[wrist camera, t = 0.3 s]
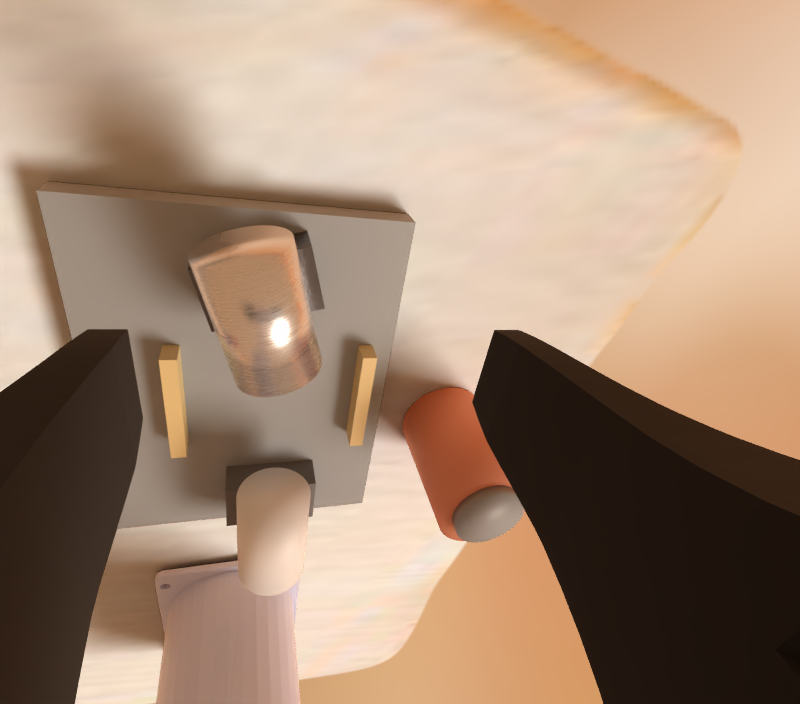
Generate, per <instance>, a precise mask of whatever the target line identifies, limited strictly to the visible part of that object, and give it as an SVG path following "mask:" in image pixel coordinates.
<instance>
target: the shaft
mask: <svg viewBox="0 0 800 704" xmlns="http://www.w3.org/2000/svg"><path fill="white" fill-rule="evenodd" d="M187 258H188V261H189V266H188V272H189V275H190V278H191V280H192V283H193V285H194V288H195V290H196V293H197V296H198V298H199V301H200V303H201V306H202V308H203V311H204V314H205V316H206V319H207V321H208V324H209V326H210V329H211V332H216V335H217V337H218V340H219V342H220V345H221V348H222V350H223V353H224V355H225V358H226V361H227V363H228V366H229V368H230V371H231V374H232V376H233V379H234V382H235V384H236V386H237V388H238V389H239V390H241V391H242V392H243V393H245V394H248V395H251V396H255V397H276V396H281V395H285V394H288V393H291V392H294V391H296V390H298V389H300V388H302V387H303V386H305V385H306V384H308V383H309V382H310V381H312V380H313V379H314V378H315V377H316V375H317V374H318V373H319V371H320V369H321V366H322V357H321V352H320V348H319V344H318V339H317V335H316V330H315V326H314V322H313V317H312V313H311V311H316V310H321V309H325V306H324V302H323V297H322V292H321V287H320V282H319V278H318V273H317V268H316V263H315V258H314V254H313V249H312V245H311V241H310V238H309V235H308V231H304V232H298V233H292V232H291V231H289V230H288V229H285V228H282V227H278V226H270V225H258V226H247V227H241V228H236V229H232V230H228V231H224V232H221V233H218V234H216V235H213V236H211V237H209V238H206V239H205V240H203V241H201V242H199V243H198V244H196V245H195V246H194V247H193V248H192V249H191V250H190V251H189V253H188V257H187Z"/></svg>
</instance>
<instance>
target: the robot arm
mask: <svg viewBox="0 0 800 704" xmlns="http://www.w3.org/2000/svg"><path fill="white" fill-rule="evenodd" d="M472 403H473V406H474V409H475V412H476V415H477V418H478V420H479V423H480V426H481V428H482V431H483V433H484V436H485V438H486V441H487V443H488V444H489V446H490V448H491V450H492V452H493V454H494V456H495V458H496V459H497V461H498V463H499V465H500V467H501V469H502V470H503V472H504V474H505V476H506V478H507V479H508V481H509V483H510V485H511V486H512V488H513V490H514V492H515V494H516V495H517V497H518V499H519V501H520V503H521V504H522V506H523V508H524V510H525V512H526V513H527V515H528V517H529V519H530V521H531V522H532V524H533V526H534V528H535V530H536V532H537V534H538V536H539V538H540V540H541V542H542V544H543V546H544V548H545V551H546V553H547V555H548V558H549V560H550V563H551V565H552V567H553V570H554V572H555V574H556V577H557V579H558V581H559V583H560V586H561V588H562V591H563V593H564V596H565V599H566V601H567V604H568V606H569V609H570V611H571V614H572V616H573V619H574V622H575V624H576V627H577V629H578V632H579V634H580V637H581V640H582V643H583V646H584V648H585V651H586V654H587V657H588V660H589V662H590V665H591V668H592V671H593V674H594V677H595V680H596V683H597V685H598V688H599V691H600V694H601V697H602V700H603V704H800V460H798V459H794V458H792V457H789V456H786V455H782V454H780V453H777V452H774V451H771V450H769V449H766V448H763V447H761V446H758V445H755V444H752V443H749V442H747V441H744V440H741V439H739V438H736V437H733V436H731V435H728V434H726V433H723V432H721V431H719V430H716V429H714V428H711V427H709V426H707V425H704V424H702V423H700V422H697V421H695V420H693V419H691V418H688V417H686V416H684V415H681V414H679V413H677V412H675V411H673V410H671V409H669V408H666V407H664V406H662V405H660V404H658V403H656V402H654V401H652V400H650V399H648V398H646V397H644V396H642V395H640V394H638V393H636V392H634V391H632V390H631V389H629V388H627V387H625V386H623V385H621V384H619V383H617V382H616V381H613V380H612V379H610V378H608V377H606V376H604V375H603V374H601V373H599V372H597V371H596V370H594V369H592V368H590V367H588V366H587V365H585V364H583V363H581V362H579V361H578V360H576V359H574V358H572V357H571V356H569V355H567V354H565V353H563V352H562V351H560V350H558V349H556V348H554V347H553V346H551V345H549V344H547V343H545V342H543V341H541V340H539V339H537V338H535V337H533V336H531V335H529V334H527V333H524V332H522V331H519V330H494V333H493V336H492V339H491V343H490V346H489V349H488V352H487V356H486V359H485V362H484V365H483V369H482V372H481V375H480V378H479V381H478V385H477V388H476V391H475V394H474V398H473V401H472ZM142 423H143V414H142V409H141V403H140V397H139V391H138V385H137V380H136V374H135V368H134V362H133V356H132V351H131V345H130V339H129V333H128V329H87V330H86V331H84V332H83V333H81V334H80V335H78V336H77V337H75V338H74V339H73V340H71V341H70V342H69V343H67V344H66V345H64V346H63V347H62V348H60V349H59V350H58V351H56V352H55V353H54V354H52V355H51V356H50V357H48V358H47V359H46V360H44V361H43V362H42V363H40V364H39V365H37V366H36V367H35V368H33V369H32V370H30V371H29V372H28V373H26V374H25V375H24V376H22V377H21V378H19V379H18V380H17V381H15V382H14V383H12V384H11V385H10V386H8V387H7V388H5V389H4V390H3V391H1V392H0V704H75V699H76V693H77V688H78V682H79V677H80V672H81V667H82V662H83V657H84V652H85V646H86V641H87V636H88V631H89V626H90V621H91V616H92V612H93V608H94V604H95V600H96V597H97V593H98V589H99V585H100V582H101V579H102V576H103V572H104V569H105V566H106V563H107V559H108V556H109V553H110V550H111V546H112V543H113V540H114V537H115V533H116V530H117V527H118V524H119V520H120V517H121V514H122V511H123V507H124V504H125V501H126V497H127V494H128V491H129V488H130V484H131V481H132V477H133V474H134V471H135V467H136V461H137V455H138V449H139V443H140V436H141V430H142ZM155 587H156V592H157V598H158V603H159V608H160V613H161V618H162V624H163V629H164V634H165V640H164V647H163V655H162V662H161V670H160V678H159V685H158V693H157V701H156V704H300V692H299V679H298V667H297V654H296V642H295V619H296V609H297V598H298V588H299V580H298V581H297V582H296V583H295V584H294V585H293V586H292V587H291V588H290V589H288V590H287V591H285V592H283V593H281V594H278V595H274V596H261V595H257V594H254V593H252V592H250V591H249V590H247V589H246V588H245V587H244V586H243V584H242V583H241V581H240V578H239V575H238V560H237V561H230V562H222V563H215V564H207V565H200V566H192V567H185V568H177V569H170V570H163V571H160V572H158V573H157V574H156V576H155Z"/></svg>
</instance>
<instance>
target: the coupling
mask: <svg viewBox="0 0 800 704" xmlns="http://www.w3.org/2000/svg"><path fill="white" fill-rule="evenodd" d="M473 398H474V395H473V394H472V393H471V392H469V391H467V390H465V389H462V388H456V387H448V388H442V389H438V390H435V391H432V392H430V393H428V394H426V395H424V396H423V397H421V398H420V399H418V400H417V401H416V402H415V403H414V404H413V405H412V406H411V407H410V408H409V410H408V411H407V413H406V415H405V417H404V420H403V433H404V435H405V438H406V441H407V443H408V446H409V449H410V451H411V454H412V456H413V459H414V462H415V464H416V467H417V470H418V472H419V475H420V477H421V480H422V483H423V485H424V488H425V491H426V493H427V496H428V498H429V501H430V504H431V506H432V509H433V512H434V514H435V517H436V519H437V522H438V525H439V527H440V530H441V531H442V533H443V534H444V535H445V536H447V537H448V538H451V539H453V540H458V541H467V542H483V541H488V540H491V539H494V538H496V537H498V536H500V535H502V534H504V533H506V532H507V531H509V530H510V529H511V528H513V526H515V525H516V524H517V523H518V521H519V520H520V519H521V517H522V515H523V513H524V512H525V510H524V508H523V506H522V504H521V503H520V501H519V499H518V497H517V495H516V494H515V492H514V490H513V488H512V486H511V485H510V483H509V481H508V479H507V478H506V476H505V474H504V472H503V470H502V469H501V467H500V465H499V463H498V461H497V459H496V458H495V456H494V454H493V452H492V450H491V448H490V446H489V444H488V443H487V441H486V438H485V436H484V433H483V431H482V428H481V426H480V423H479V420H478V418H477V415H476V412H475V409H474V406H473V403H472V401H473Z"/></svg>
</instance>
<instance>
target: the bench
mask: <svg viewBox="0 0 800 704" xmlns="http://www.w3.org/2000/svg"><path fill="white" fill-rule="evenodd" d="M36 192H37V196H38V200H39V204H40V209H41V213H42V217H43V221H44V225H45V229H46V234H47V238H48V242H49V246H50V250H51V254H52V259H53V263H54V267H55V271H56V275H57V279H58V284H59V288H60V292H61V296H62V300H63V304H64V309H65V313H66V317H67V321H68V325H69V329H70V334H71V338H72V340H73V339H74V338H75V337H77V336H78V335H80V334H81V333H83V332H84V331H86V330H87V329H128V333H129V339H130V345H131V351H132V356H133V362H134V368H135V374H136V380H137V385H138V391H139V397H140V403H141V409H142V414H143V423H142V430H141V436H140V443H139V449H138V455H137V461H136V467H135V471H134V474H133V477H132V481H131V484H130V488H129V491H128V494H127V497H126V501H125V504H124V507H123V511H122V514H121V517H120V520H119V524H118V527H117V529H120V528H130V527H139V526H149V525H158V524H167V523H177V522H186V521H196V520H205V519H215V518H224V517H226V518H227V526H230V525H237V548H238V575H239V578H240V581H241V583H242V584H243V586H244V587H245V588H246V589H247V590H249V591H250V592H252V593H254V594H257V595H261V596H274V595H278V594H281V593H283V592H285V591H287V590H288V589H290V588H291V587H292V586H293V585H294V584H295V583H296V582H297V581H298V580H299V578H300V576H301V574H302V571H303V566H304V556H305V546H306V536H307V527H308V517H311V516H312V515H313V508H318V507H328V506H337V505H347V504H356V503H362V501H363V495H364V490H365V485H366V480H367V474H368V469H369V464H370V459H371V453H372V448H373V443H374V438H375V432H376V427H377V422H378V417H379V411H380V406H381V401H382V396H383V390H384V385H385V380H386V375H387V369H388V364H389V359H390V354H391V348H392V343H393V338H394V333H395V328H396V322H397V317H398V312H399V307H400V301H401V296H402V291H403V286H404V280H405V275H406V270H407V265H408V259H409V254H410V249H411V244H412V238H413V233H414V228H415V222H414V220H413V219H412V218H411V217H410V216H409V214H402V213H391V212H380V211H369V210H358V209H347V208H336V207H325V206H314V205H303V204H292V203H281V202H270V201H259V200H248V199H237V198H226V197H215V196H204V195H193V194H181V193H170V192H159V191H148V190H137V189H126V188H115V187H104V186H93V185H82V184H71V183H60V182H49V181H47V182H46V183H45V184H43V185H42V186H41V187H40V188H39V189H37V190H36ZM258 225H270V226H278V227H282V228H285V229H288V230H289V231H291V232H292V233H298V232H304V231H308V235H309V238H310V241H311V245H312V249H313V254H314V258H315V263H316V268H317V273H318V278H319V282H320V287H321V292H322V297H323V302H324V306H325V309H321V310H316V311H311V313H312V317H313V322H314V326H315V330H316V335H317V339H318V344H319V348H320V352H321V357H322V366H321V369H320V371H319V373H318V374H317V375H316V377H315V378H314V379H313V380H312V381H310V382H309V383H308V384H306V385H305V386H303V387H302V388H300V389H298V390H296V391H294V392H291V393H288V394H285V395H281V396H276V397H255V396H251V395H248V394H245V393H243V392H242V391H241V390H239V389H238V388H237V386H236V384H235V382H234V379H233V376H232V374H231V371H230V368H229V366H228V363H227V361H226V358H225V355H224V353H223V350H222V348H221V345H220V342H219V340H218V337H217V335H216V332H211V329H210V326H209V324H208V321H207V319H206V316H205V314H204V311H203V308H202V306H201V303H200V301H199V298H198V296H197V293H196V290H195V288H194V285H193V283H192V280H191V278H190V275H189V272H188V266H189V261H188V258H187V257H188V253H189V251H190V250H191V249H192V248H193V247H194V246H195V245H196V244H198V243H199V242H201V241H203V240H205V239H206V238H209V237H211V236H213V235H216V234H218V233H221V232H224V231H228V230H232V229H236V228H241V227H247V226H258Z"/></svg>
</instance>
